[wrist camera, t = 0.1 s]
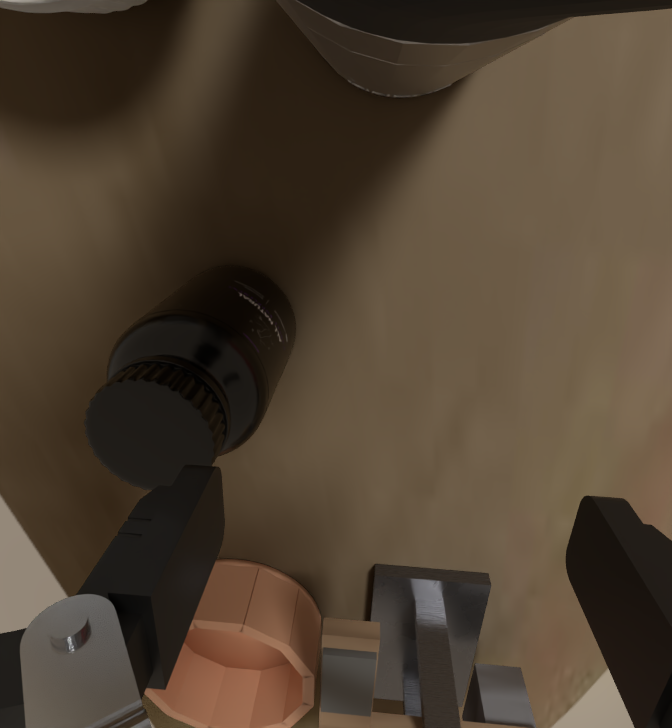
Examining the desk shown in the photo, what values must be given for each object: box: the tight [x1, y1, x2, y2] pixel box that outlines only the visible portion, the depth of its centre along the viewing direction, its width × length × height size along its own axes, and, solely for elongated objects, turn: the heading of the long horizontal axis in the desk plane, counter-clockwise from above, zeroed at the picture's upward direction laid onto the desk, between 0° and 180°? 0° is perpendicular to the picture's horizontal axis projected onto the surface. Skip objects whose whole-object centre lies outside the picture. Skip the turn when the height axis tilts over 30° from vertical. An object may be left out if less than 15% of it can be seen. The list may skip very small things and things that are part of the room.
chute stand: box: [370, 564, 491, 728], centre depth 34 cm, size 14×8×10 cm, turn 178°
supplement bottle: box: [84, 266, 296, 490], centre depth 23 cm, size 7×7×12 cm
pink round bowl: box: [144, 559, 322, 728], centre depth 37 cm, size 13×13×5 cm
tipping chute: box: [319, 617, 536, 728], centre depth 30 cm, size 15×13×7 cm
